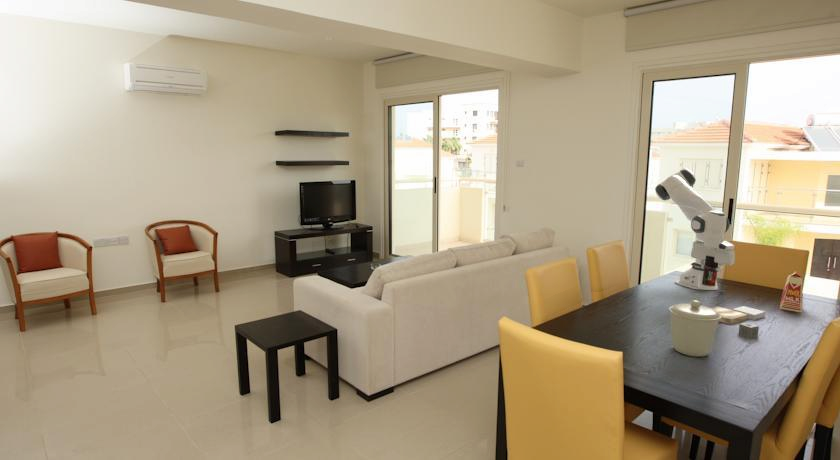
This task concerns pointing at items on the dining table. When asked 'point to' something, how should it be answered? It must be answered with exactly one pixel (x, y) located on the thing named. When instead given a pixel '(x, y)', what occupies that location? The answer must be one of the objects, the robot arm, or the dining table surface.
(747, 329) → the dice cube
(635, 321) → the dining table surface
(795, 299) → the milk carton
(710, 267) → the deodorant
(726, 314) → the oak stand
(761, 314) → the grey stand
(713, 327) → the canister
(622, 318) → the dining table surface
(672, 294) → the dining table surface
